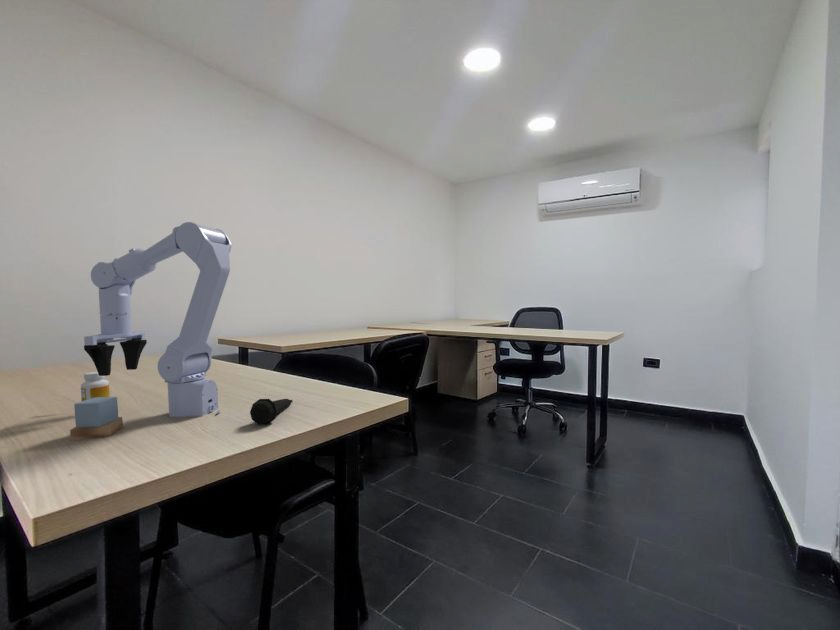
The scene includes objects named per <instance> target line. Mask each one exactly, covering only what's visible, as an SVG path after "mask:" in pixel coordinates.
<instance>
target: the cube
mask: <svg viewBox="0 0 840 630" xmlns="http://www.w3.org/2000/svg"><path fill="white" fill-rule="evenodd" d="M73 406H74V419H75V421H74V422H75V427H100V426H103V425H105V424H108V423H110V422H113V421H115V420H118V417H119V408H118V407H119V405H118V397H117V396H110V397H97V398H91V399H88V400H85V401H79V402H76V403H74V404H73Z"/></svg>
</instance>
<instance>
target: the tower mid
mask: <svg viewBox="0 0 840 630" xmlns="http://www.w3.org/2000/svg"><path fill="white" fill-rule="evenodd" d="M123 422H124V421H123V416H118V420H115V421H113V422H110V423H108V424H105V425H103V426H100V427H76V426H74V427H73V428H71V429H70V430H69V435H70V436H69V437H70V441H79V440H89V439H90V438H91V439H99V438H98V437H104V438H105V437H106V438H107V437H111V436H112V435H114V434H115V433H116V432H118V431H119V429H120V428H121V427H124V425H123V424H124V423H123ZM117 430H118V431H117ZM120 430H121V429H120Z"/></svg>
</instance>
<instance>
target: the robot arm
mask: <svg viewBox="0 0 840 630" xmlns="http://www.w3.org/2000/svg"><path fill="white" fill-rule="evenodd" d="M232 243H233V242H231V240H230V238H229V236H228V235H227V234H226V232H225V231H224V230H221V229H219V228H218V229H217V228H211V227H208V226H204V225H200V224H197V223H194V222H192V221H187V222H183V223H182V224H180V225H178V226H175V227H173V229H172V233H170V234H168V235H167V236H165V237H164V238H162V239H161V240H159V241H157V242H156V243H154V244H153V245H151V246H150V247H148V248H147V249H142V248H130V249H129V250H128V252H127V253H126V254H124V255H122V256H120V257H116V258H114V259H113V260H112V261H111V262H104V261H99V262H97V263H96V264H95V265H94V266H93V267H92V269H91V272H90V279H91V281H92V283H93V285H94V286H95V287H96V288H98V299H99V300H98V303H99V319H100V333H98V334H94V335H93V334H92V335H88V336H83V338H84V339H83V340H84V344H83V350H84V351H85V352H86V353H87V354H88V356H89V357H90V358H91V360H92V362H93V364H94V366H95V368H96V372H98V374H99V376H105V377H108V376H111V372H112V357H113V352H114V349H115V347H116V346H115V345H114V344H112V345H111V343H117V342H119V345H120V346H121V349H122V352H123V357H124V362H125V363H124V364H125V367H126V370H127V371H128V370H131V371H133V370H137V369H138V365H139V361H140V357H141V354H142V353H143V350H144V348H145V346H146V345H147V344H148V341H147V339H145V338H146V336H145V335H146V333H145V331H144V330H139V331H138V330H137V331H133V328H132V311H131V310H132V309H131V296H132V294H133V287H134V285H135V283H136V280H138V279H140V278H142V277H144V276H146V275H148V274H150V273H152V272H154V271H155V270H156V268H157V264H158V263H160V262H163V261H164V260H167V259H169V258H171V257H174V256H176V255H178V254H180V253H184V254H185V255H186V256H187V257H188V258H190V260H191V261H192V262H193V263H195V265H196V267H197V268H198V270H199V274H198V277H197V280H196V283H195V286H194V289H193V292H192V295H191V299H190V302H189V305H188V308H187V311H186V315H185V317H184V321H183V323H182V326H181V328H180V333H179V335H178V337H176V338H175V339H174V340H173V341H172V342H170V344H169V345H167V347H166V350H165V352H164V353H163V354H162V355H161V356H160V358H159V359H158V361H157V371H158V374H159V376H160V377H161V378H162V379H163V380H164V383H165V384H167V399H168V416H169V417H170V418H185V417H204V416H206V415H208V414H210V413H213V412H214V411H216V410H217V411H216V413H215V414H214V415H215V416H217V415H218V414H220V413H221V410H218V409H219V395H218V394H219V393H218V386H217V383H216V382H215V380H213V379H207V378H205V377H207V373H208V371H209V370H210V368H211V365H212V351H213V347H212V346H211V345H210V344H209V342H207V341H208V339H209V338H208V337H209V336H210V332H211V329H212V326H213V322H214V320H215V317H216V314H217V312H218V308H219V305H220V302H221V298H222V297H223V292H224V290H225V286H226V284H227V281H228V278H229V274H230V271H231V265H230V264H231V262H230V253H231V250H232V247H233V244H232ZM109 343H110V345H108V344H109Z"/></svg>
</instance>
